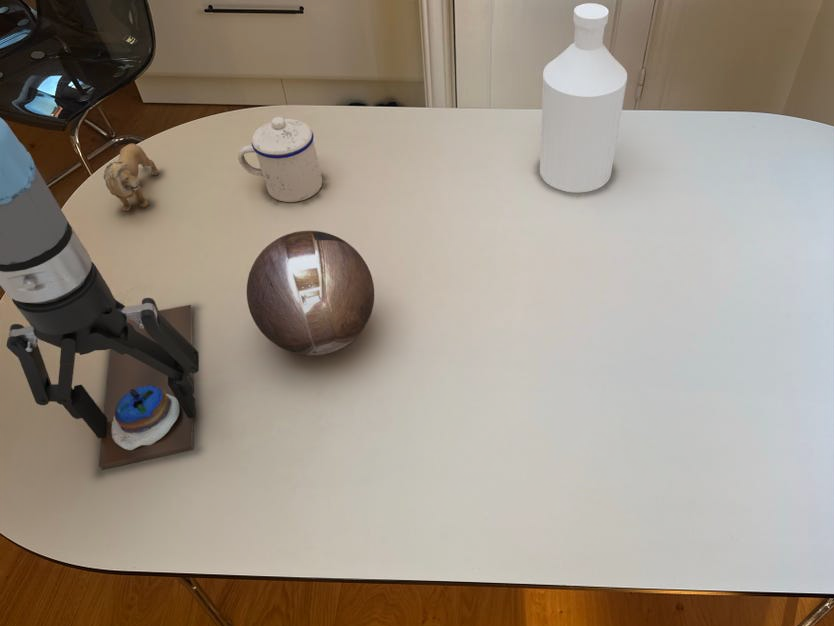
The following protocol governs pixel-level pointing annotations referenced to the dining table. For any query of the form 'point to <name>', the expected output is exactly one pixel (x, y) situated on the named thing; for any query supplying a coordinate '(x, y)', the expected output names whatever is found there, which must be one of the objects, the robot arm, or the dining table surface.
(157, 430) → the dessert
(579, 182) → the bottle
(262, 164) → the teacup with lid
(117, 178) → the lion figurine
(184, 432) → the walnut board
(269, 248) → the wooden sphere
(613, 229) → the dining table surface
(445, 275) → the dining table surface
